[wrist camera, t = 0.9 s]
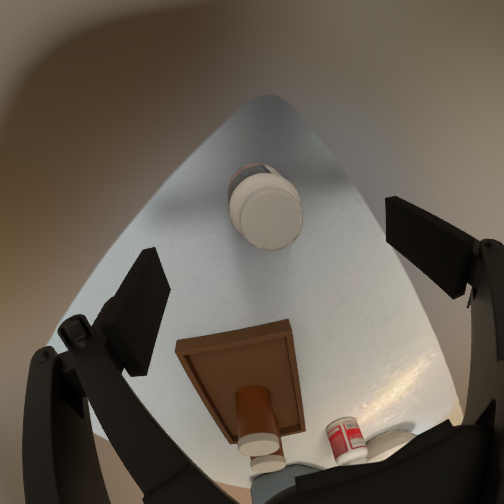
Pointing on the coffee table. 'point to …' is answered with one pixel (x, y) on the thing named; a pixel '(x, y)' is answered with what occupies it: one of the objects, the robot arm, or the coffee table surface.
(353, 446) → the pill bottle
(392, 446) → the bowl
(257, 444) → the amber bottle middle
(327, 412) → the coffee table surface
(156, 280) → the robot arm
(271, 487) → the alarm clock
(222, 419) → the tray
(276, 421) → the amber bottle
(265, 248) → the pill bottle
